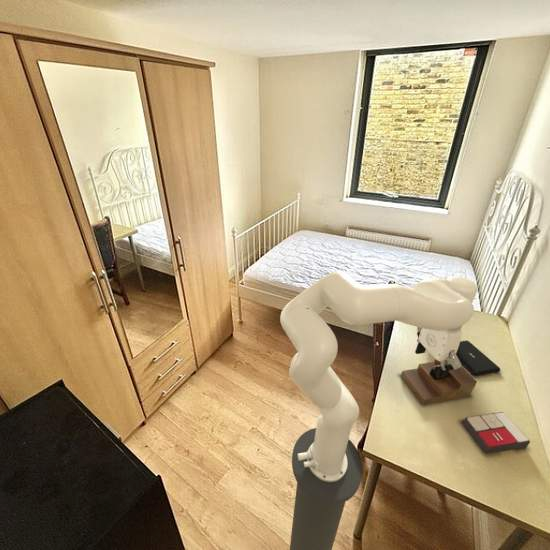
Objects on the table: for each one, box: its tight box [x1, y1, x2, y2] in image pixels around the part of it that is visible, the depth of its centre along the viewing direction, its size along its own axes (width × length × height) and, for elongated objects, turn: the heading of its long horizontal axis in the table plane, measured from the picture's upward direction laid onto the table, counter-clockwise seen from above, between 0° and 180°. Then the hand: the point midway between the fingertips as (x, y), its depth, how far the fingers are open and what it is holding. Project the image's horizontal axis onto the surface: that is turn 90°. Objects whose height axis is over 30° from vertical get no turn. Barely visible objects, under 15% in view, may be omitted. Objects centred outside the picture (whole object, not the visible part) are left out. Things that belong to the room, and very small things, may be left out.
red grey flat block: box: [462, 411, 531, 455], centre depth 98 cm, size 11×4×15 cm
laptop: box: [456, 340, 501, 377], centre depth 129 cm, size 16×20×2 cm
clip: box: [430, 365, 449, 380], centre depth 113 cm, size 3×6×5 cm, turn 102°
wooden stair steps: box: [400, 358, 478, 406], centre depth 114 cm, size 21×14×8 cm, turn 102°
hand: (429, 364), depth 89 cm, fingers open, 9 cm apart
